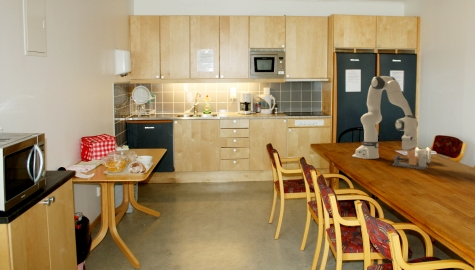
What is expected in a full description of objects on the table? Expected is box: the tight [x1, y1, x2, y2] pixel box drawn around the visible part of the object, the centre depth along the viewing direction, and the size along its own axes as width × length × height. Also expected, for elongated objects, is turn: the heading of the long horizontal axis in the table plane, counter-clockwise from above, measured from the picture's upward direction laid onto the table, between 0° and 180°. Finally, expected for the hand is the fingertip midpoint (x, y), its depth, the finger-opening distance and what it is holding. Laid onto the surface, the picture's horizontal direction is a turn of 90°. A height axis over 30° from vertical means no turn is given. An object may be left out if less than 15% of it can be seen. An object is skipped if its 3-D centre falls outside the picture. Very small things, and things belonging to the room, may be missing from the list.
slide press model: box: [392, 155, 429, 170], centre depth 348 cm, size 24×10×7 cm, turn 47°
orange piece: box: [406, 148, 420, 165], centre depth 345 cm, size 6×12×11 cm, turn 137°
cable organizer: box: [414, 146, 432, 165], centre depth 362 cm, size 15×11×12 cm
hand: (409, 153), depth 348 cm, fingers closed
